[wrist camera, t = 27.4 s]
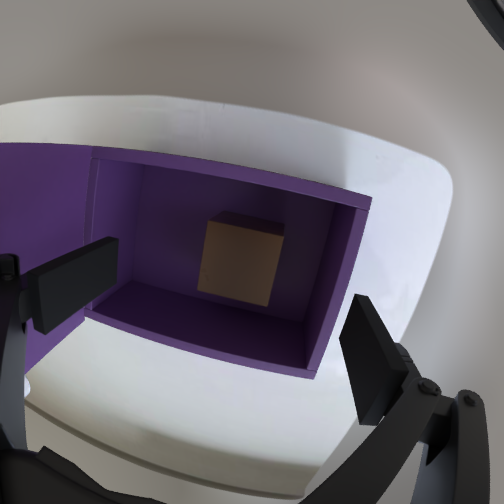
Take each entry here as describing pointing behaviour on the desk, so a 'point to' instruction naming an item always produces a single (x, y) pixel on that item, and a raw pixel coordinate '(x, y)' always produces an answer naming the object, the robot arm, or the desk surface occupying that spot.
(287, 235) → the purple box
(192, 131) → the desk surface
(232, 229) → the block
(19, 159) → the purple hinged box lid
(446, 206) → the desk surface
